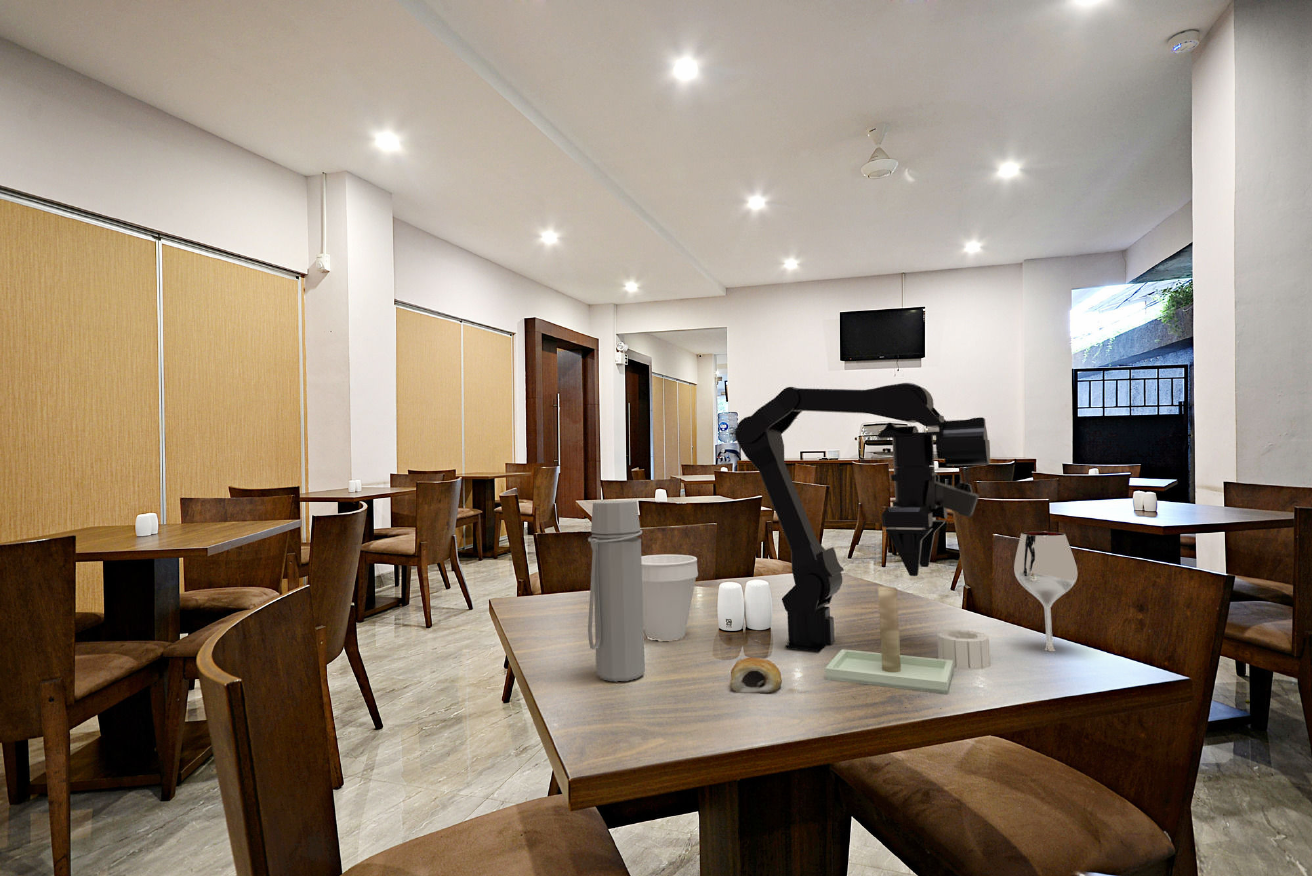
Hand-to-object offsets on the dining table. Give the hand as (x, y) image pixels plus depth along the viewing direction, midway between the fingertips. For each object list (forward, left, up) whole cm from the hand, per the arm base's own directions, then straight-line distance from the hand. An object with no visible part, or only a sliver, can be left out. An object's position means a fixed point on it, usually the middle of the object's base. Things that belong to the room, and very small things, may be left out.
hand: (919, 571), depth 98 cm
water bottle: (-38, -25, -13) cm, 48 cm away
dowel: (-3, -11, -12) cm, 16 cm away
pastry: (-19, -20, -14) cm, 31 cm away
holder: (+6, -2, -13) cm, 14 cm away
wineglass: (+17, +9, -13) cm, 23 cm away
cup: (-42, -2, -13) cm, 45 cm away
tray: (-3, -12, -13) cm, 18 cm away
